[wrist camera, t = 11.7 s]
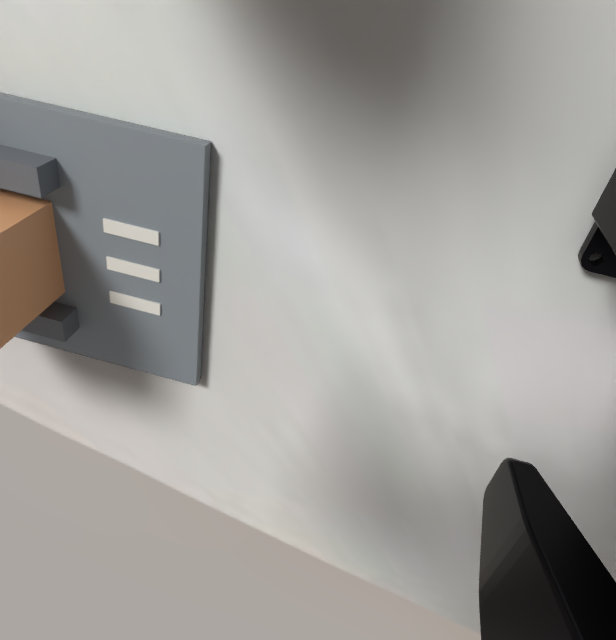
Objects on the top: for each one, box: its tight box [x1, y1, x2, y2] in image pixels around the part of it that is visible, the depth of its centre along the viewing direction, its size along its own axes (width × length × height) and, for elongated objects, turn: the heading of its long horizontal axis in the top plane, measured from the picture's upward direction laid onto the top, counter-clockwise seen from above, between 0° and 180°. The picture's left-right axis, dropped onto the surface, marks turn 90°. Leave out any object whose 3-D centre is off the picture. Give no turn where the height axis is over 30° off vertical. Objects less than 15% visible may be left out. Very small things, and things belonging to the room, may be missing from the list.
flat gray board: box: [0, 93, 211, 386], centre depth 21 cm, size 14×12×3 cm
